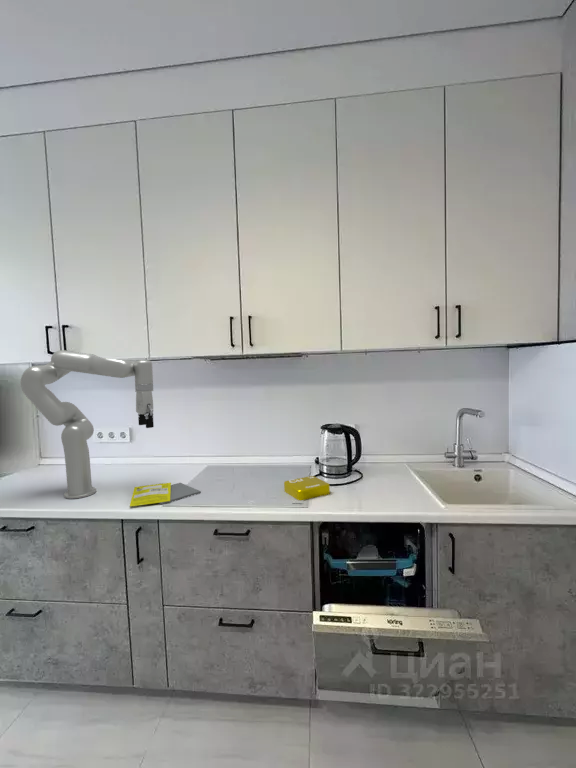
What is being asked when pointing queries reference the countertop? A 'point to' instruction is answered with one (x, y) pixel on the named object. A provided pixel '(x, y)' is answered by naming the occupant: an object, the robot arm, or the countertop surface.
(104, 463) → the countertop surface
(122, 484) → the countertop surface
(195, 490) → the mat
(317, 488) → the element tile
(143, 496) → the food package
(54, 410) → the robot arm
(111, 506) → the countertop surface
